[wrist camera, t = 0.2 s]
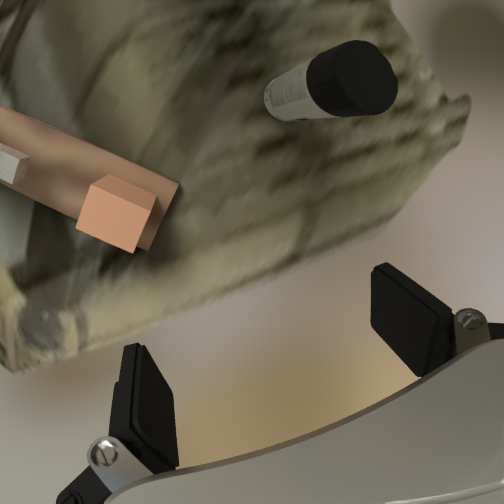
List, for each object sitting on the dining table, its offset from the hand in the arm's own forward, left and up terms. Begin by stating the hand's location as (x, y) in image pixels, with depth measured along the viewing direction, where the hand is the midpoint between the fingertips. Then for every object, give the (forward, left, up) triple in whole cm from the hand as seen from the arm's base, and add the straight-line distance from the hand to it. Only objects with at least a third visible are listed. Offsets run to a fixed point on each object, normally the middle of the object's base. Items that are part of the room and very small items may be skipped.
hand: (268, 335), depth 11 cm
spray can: (-17, +4, -31) cm, 36 cm away
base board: (+5, -27, -31) cm, 42 cm away
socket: (+5, -9, -29) cm, 31 cm away
